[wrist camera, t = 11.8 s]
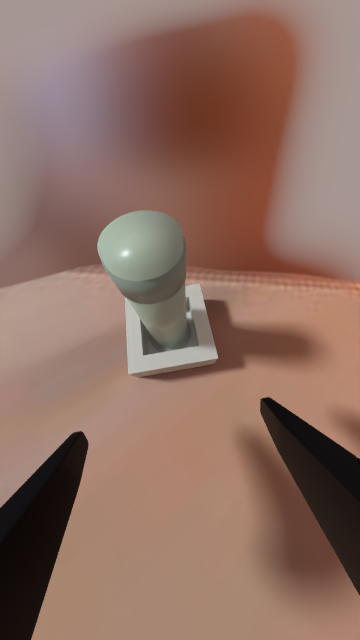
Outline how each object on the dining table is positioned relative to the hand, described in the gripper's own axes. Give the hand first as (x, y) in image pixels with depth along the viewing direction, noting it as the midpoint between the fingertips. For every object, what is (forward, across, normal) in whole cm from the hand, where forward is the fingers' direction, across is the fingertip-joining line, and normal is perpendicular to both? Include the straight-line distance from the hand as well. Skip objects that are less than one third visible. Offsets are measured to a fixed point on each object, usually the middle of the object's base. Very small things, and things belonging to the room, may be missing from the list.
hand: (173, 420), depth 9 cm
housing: (+13, 0, +2) cm, 13 cm away
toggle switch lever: (+12, 0, +1) cm, 12 cm away
